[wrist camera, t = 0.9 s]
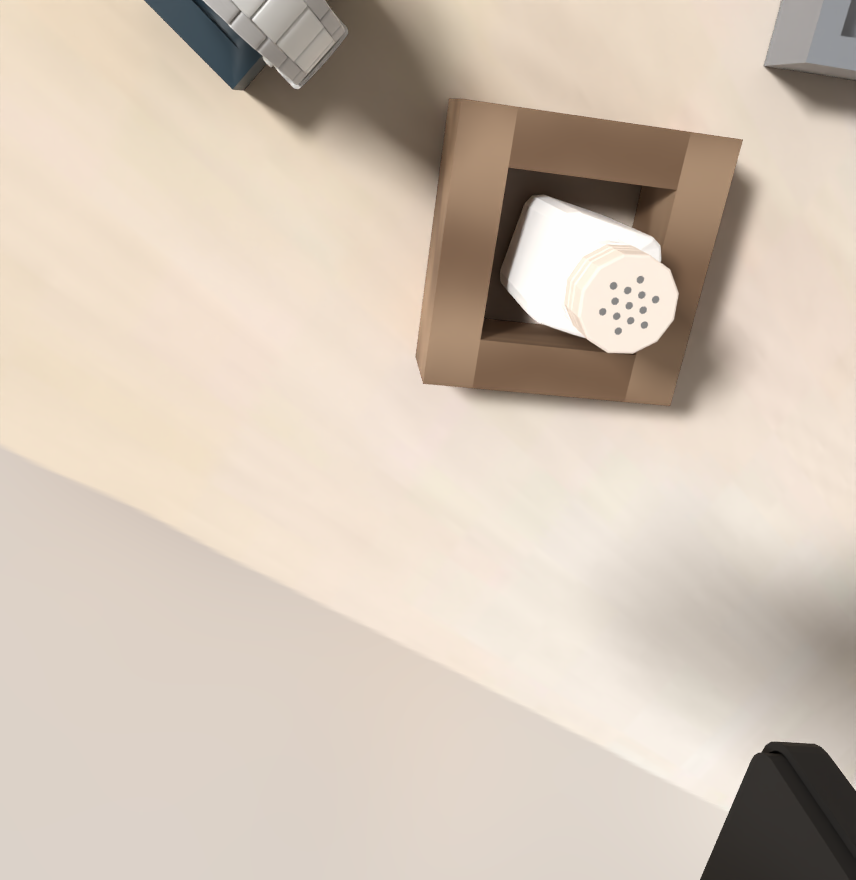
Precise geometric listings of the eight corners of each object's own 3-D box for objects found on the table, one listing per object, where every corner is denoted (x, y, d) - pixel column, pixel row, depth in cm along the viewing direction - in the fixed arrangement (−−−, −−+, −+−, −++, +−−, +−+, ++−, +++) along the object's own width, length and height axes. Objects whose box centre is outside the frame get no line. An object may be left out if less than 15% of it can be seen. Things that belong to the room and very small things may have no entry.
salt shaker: (577, 308, 33) (659, 381, 25) (492, 281, 33) (546, 347, 24) (614, 218, 32) (714, 262, 23) (526, 187, 31) (596, 222, 23)
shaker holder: (449, 98, 29) (461, 98, 26) (701, 135, 31) (742, 139, 28) (415, 356, 34) (423, 383, 30) (640, 377, 35) (670, 406, 32)
